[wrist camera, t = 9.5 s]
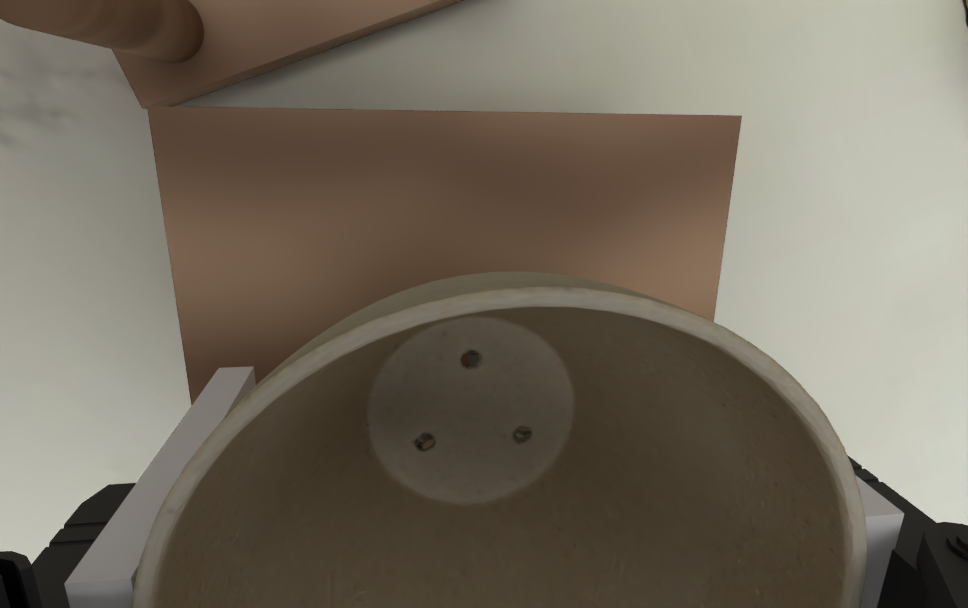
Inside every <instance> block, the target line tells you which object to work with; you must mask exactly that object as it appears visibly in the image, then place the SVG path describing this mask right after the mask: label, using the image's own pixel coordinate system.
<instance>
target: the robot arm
mask: <svg viewBox="0 0 968 608" xmlns="http://www.w3.org/2000/svg"><path fill="white" fill-rule="evenodd" d="M255 386H256V381H255V373H254V366H252V367H227V368H219V369H218V370H217V371H216V373H215V374H214V376H213V377H212V378H211V380H210V381H209V382H208V384H207V385H206V387H205V388H204V389H203V391H202V392H201V394H200V395H199V396H198V398H197V399H196V401H195V402H194V403H193V405H192V406H191V408H190V409H189V410H188V412H187V413H186V415H185V416H184V417H183V419H182V420H181V422H180V423H179V424H178V426H177V427H176V429H175V430H174V431H173V433H172V434H171V436H170V437H169V438H168V440H167V441H166V442H165V444H164V445H163V447H162V448H161V449H160V451H159V452H158V454H157V455H156V456H155V458H154V459H153V461H152V462H151V463H150V465H149V466H148V468H147V469H146V470H145V472H144V473H143V475H142V476H141V477H140V479H139V480H138V482H137V483H128V484H113V485H108V486H106V487H105V488H103V489H102V490H101V491H99V492H98V493H96V494H95V495H93V496H92V497H90V498H89V499H87V500H86V501H85V502H83V503H82V504H81V505H80V506H79V507H78V509H77V510H76V511H75V512H74V513H73V515H72V516H71V517H70V518H69V519H68V521H67V522H66V523H65V524H64V529H60V530H59V532H58V533H57V534H56V535H55V537H54V538H53V539H52V540H51V541H50V545H49V547H46V548H45V549H44V550H43V551H42V552H41V554H40V555H39V556H38V557H37V558H36V560H35V561H34V562H33V563H32V565H31V563H30V562H29V560H28V558H27V556H25V555H22V554H19V553H16V552H13V551H6V552H0V608H131V605H132V597H133V592H134V586H135V581H136V577H137V573H138V567H139V562H140V558H141V555H142V553H143V550H144V547H145V545H146V542H147V539H148V536H149V533H150V530H151V528H152V525H153V523H154V521H155V518H156V516H157V514H158V512H159V510H160V508H161V506H162V504H163V502H164V500H165V498H166V497H167V495H168V493H169V491H170V490H171V488H172V486H173V485H174V483H175V481H176V480H177V478H178V477H179V475H180V473H181V472H182V470H183V469H184V467H185V466H186V464H187V463H188V462H189V460H190V459H191V458H192V456H193V455H194V453H195V452H196V451H197V449H198V448H199V447H200V446H201V445H202V444H203V442H204V441H205V440H206V439H207V438H208V437H209V435H210V434H211V433H212V432H213V431H214V430H215V428H216V427H217V426H218V425H219V424H220V422H221V421H222V420H223V419H224V418H225V417H226V416H227V415H228V414H229V413H230V412H231V411H232V410H233V409H234V407H235V406H236V405H237V404H238V403H239V402H240V401H241V400H242V399H243V398H244V397H245V396H246V395H247V394H248V393H249V392H250V391H251V390H252V389H253V388H254V387H255ZM847 456H848V455H847ZM848 458H849V460H850V462H851V465H852V467H853V470H854V473H855V475H856V479H857V483H858V486H859V490H860V493H861V499H862V504H863V509H864V513H865V521H866V536H867V562H866V578H865V585H864V590H863V595H862V603H861V606H860V608H968V526H967V525H964V524H957V523H949V522H941V523H936V522H935V521H933V520H932V519H931V518H930V517H928V516H927V515H926V514H924V513H923V512H922V511H920V510H919V509H918V508H916V507H915V506H914V505H912V504H911V503H910V502H908V501H907V500H906V499H904V498H903V497H902V496H900V495H899V494H898V493H896V492H895V491H894V490H893V489H891V488H890V487H889V486H887V485H886V484H885V483H883V482H879V481H878V478H877V477H875V476H874V475H873V474H871V473H870V472H869V471H867V470H866V469H862V466H861V465H859V464H858V463H857V462H855V461H854V460H853V459H852V458H850V457H849V456H848Z"/></svg>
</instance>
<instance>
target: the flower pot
mask: <svg viewBox="0 0 968 608" xmlns="http://www.w3.org/2000/svg"><path fill="white" fill-rule="evenodd" d="M465 353H466V354H468V355H469V358H470V362H469V364H468V365H467V366H465V365H464V364H463V362H462V356H463V354H465ZM519 427H526V428H527V429H528V431H521V430H519ZM429 440H433V441H434V443H433V444H432V445H431V446H430V447H428V448H426V449H423V445H424V444H425V442H427V441H429ZM866 562H867V536H866V521H865V513H864V509H863V504H862V499H861V493H860V490H859V486H858V483H857V479H856V475H855V473H854V470H853V467H852V465H851V462H850V460H849V458H848V456H847V454H846V452H845V449H844V447H843V445H842V443H841V441H840V439H839V437H838V435H837V434H836V432H835V430H834V429H833V427H832V425H831V424H830V422H829V420H828V418H827V417H826V415H825V414H824V412H823V411H822V410H821V408H820V407H819V405H818V404H817V403H816V402H815V401H814V399H813V398H812V397H811V396H810V395H809V394H808V393H807V392H806V391H805V389H804V388H803V387H802V386H801V385H800V384H799V383H798V382H797V381H796V379H795V378H794V377H793V376H792V375H791V374H789V373H788V372H787V371H786V370H785V369H784V368H783V367H782V366H780V365H779V364H778V363H777V362H776V361H775V360H774V359H772V358H771V357H770V356H768V355H767V354H765V353H764V352H762V351H761V350H760V349H758V348H757V347H755V346H754V345H752V344H751V343H750V342H748V341H746V340H745V339H743V338H742V337H740V336H738V335H737V334H735V333H734V332H732V331H730V330H728V329H727V328H725V327H723V326H721V325H718V324H716V323H714V322H712V321H710V320H708V319H706V318H703V317H701V316H699V315H697V314H695V313H693V312H690V311H688V310H685V309H683V308H680V307H678V306H676V305H673V304H671V303H668V302H665V301H663V300H660V299H657V298H654V297H651V296H648V295H645V294H642V293H639V292H637V291H633V290H630V289H626V288H623V287H619V286H616V285H612V284H608V283H604V282H599V281H594V280H589V279H584V278H578V277H573V276H567V275H559V274H550V273H542V272H525V271H516V272H486V273H477V274H468V275H461V276H455V277H450V278H446V279H441V280H437V281H432V282H429V283H426V284H422V285H419V286H416V287H413V288H410V289H407V290H404V291H401V292H399V293H396V294H393V295H391V296H389V297H386V298H384V299H382V300H379V301H377V302H375V303H373V304H371V305H369V306H367V307H365V308H363V309H361V310H359V311H357V312H355V313H353V314H352V315H350V316H348V317H346V318H345V319H343V320H341V321H340V322H338V323H337V324H335V325H334V326H332V327H330V328H329V329H327V330H326V331H324V332H323V333H321V334H320V335H318V336H316V337H315V338H314V339H312V340H311V341H310V342H308V343H307V344H306V345H304V346H303V347H301V348H300V349H299V350H297V351H296V352H295V353H294V354H292V355H291V356H290V357H288V358H287V359H286V360H285V361H283V362H282V363H281V364H280V365H279V366H278V367H276V368H275V369H274V370H273V371H272V372H271V373H269V374H268V375H267V376H266V377H265V378H264V379H263V380H261V381H260V382H259V383H258V384H257V385H256V386H255V387H254V388H253V389H252V390H251V391H250V392H249V393H248V394H247V395H246V396H245V397H244V398H243V399H242V400H241V401H240V402H239V403H238V404H237V405H236V406H235V407H234V409H233V410H232V411H231V412H230V413H229V414H228V415H227V416H226V417H225V418H224V419H223V420H222V421H221V422H220V424H219V425H218V426H217V427H216V428H215V430H214V431H213V432H212V433H211V434H210V435H209V437H208V438H207V439H206V440H205V441H204V442H203V444H202V445H201V446H200V447H199V448H198V449H197V451H196V452H195V453H194V455H193V456H192V458H191V459H190V460H189V462H188V463H187V464H186V466H185V467H184V469H183V470H182V472H181V473H180V475H179V477H178V478H177V480H176V481H175V483H174V485H173V486H172V488H171V490H170V491H169V493H168V495H167V497H166V498H165V500H164V502H163V504H162V506H161V508H160V510H159V512H158V514H157V516H156V518H155V521H154V523H153V525H152V528H151V530H150V533H149V536H148V539H147V542H146V545H145V547H144V550H143V553H142V555H141V558H140V562H139V567H138V573H137V577H136V581H135V586H134V592H133V597H132V605H131V608H860V606H861V603H862V595H863V590H864V585H865V578H866Z"/></svg>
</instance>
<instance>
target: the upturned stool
mask: <svg viewBox="0 0 968 608" xmlns="http://www.w3.org/2000/svg"><path fill="white" fill-rule="evenodd" d="M461 1H463V0H0V19H2V20H4V21H6V22H8V23H10V24H13V25H16V26H19V27H23V28H27V29H31V30H36V31H40V32H44V33H48V34H52V35H56V36H60V37H65V38H69V39H73V40H77V41H81V42H85V43H89V44H94V45H98V46H102V47H106V48H110V49H112V51H113V53H114V54H115V56H116V58H117V60H118V62H119V64H120V66H121V68H122V70H123V72H124V74H125V76H126V78H127V80H128V82H129V83H130V85H131V87H132V89H133V91H134V93H135V95H136V97H137V99H138V101H139V103H140V105H141V107H142V108H147V106H166V107H172V106H174V105H177V104H180V103H183V102H185V101H188V100H191V99H194V98H196V97H199V96H202V95H205V94H207V93H210V92H213V91H216V90H218V89H221V88H224V87H227V86H229V85H232V84H235V83H238V82H240V81H243V80H246V79H249V78H251V77H254V76H257V75H260V74H262V73H265V72H268V71H271V70H273V69H276V68H279V67H282V66H284V65H287V64H290V63H293V62H295V61H298V60H301V59H304V58H306V57H309V56H312V55H315V54H317V53H320V52H323V51H326V50H328V49H331V48H334V47H337V46H339V45H342V44H345V43H348V42H350V41H353V40H356V39H359V38H361V37H364V36H367V35H370V34H373V33H375V32H378V31H381V30H384V29H386V28H389V27H392V26H395V25H397V24H400V23H403V22H406V21H408V20H411V19H414V18H417V17H419V16H422V15H425V14H428V13H430V12H433V11H436V10H439V9H441V8H444V7H447V6H450V5H452V4H455V3H458V2H461Z"/></svg>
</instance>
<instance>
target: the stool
mask: <svg viewBox="0 0 968 608" xmlns="http://www.w3.org/2000/svg"><path fill="white" fill-rule="evenodd" d="M147 109H148V115H149V122H150V129H151V135H152V142H153V149H154V156H155V162H156V169H157V176H158V183H159V189H160V196H161V203H162V210H163V216H164V223H165V230H166V236H167V243H168V250H169V257H170V263H171V270H172V277H173V284H174V290H175V297H176V304H177V311H178V317H179V324H180V331H181V337H182V344H183V351H184V358H185V364H186V371H187V378H188V385H189V391H190V398H191V405H193V403H194V402H195V401H196V399H197V398H198V396H199V395H200V394H201V392H202V391H203V389H204V388H205V387H206V385H207V384H208V382H209V381H210V380H211V378H212V377H213V376H214V374H215V373H216V371H217V370H218V369H219V368H227V367H252V366H254V373H255V381H256V385H257V384H258V383H259V382H260V381H261V380H263V379H264V378H265V377H266V376H267V375H268V374H269V373H271V372H272V371H273V370H274V369H275V368H276V367H278V366H279V365H280V364H281V363H282V362H283V361H285V360H286V359H287V358H288V357H290V356H291V355H292V354H294V353H295V352H296V351H297V350H299V349H300V348H301V347H303V346H304V345H306V344H307V343H308V342H310V341H311V340H312V339H314V338H315V337H316V336H318V335H320V334H321V333H323V332H324V331H326V330H327V329H329V328H330V327H332V326H334V325H335V324H337V323H338V322H340V321H341V320H343V319H345V318H346V317H348V316H350V315H352V314H353V313H355V312H357V311H359V310H361V309H363V308H365V307H367V306H369V305H371V304H373V303H375V302H377V301H379V300H382V299H384V298H386V297H389V296H391V295H393V294H396V293H399V292H401V291H404V290H407V289H410V288H413V287H416V286H419V285H422V284H426V283H429V282H432V281H437V280H441V279H446V278H450V277H455V276H461V275H468V274H477V273H486V272H516V271H525V272H542V273H550V274H559V275H567V276H573V277H578V278H584V279H589V280H594V281H599V282H604V283H608V284H612V285H616V286H619V287H623V288H626V289H630V290H633V291H637V292H639V293H642V294H645V295H648V296H651V297H654V298H657V299H660V300H663V301H665V302H668V303H671V304H673V305H676V306H678V307H680V308H683V309H685V310H688V311H690V312H693V313H695V314H697V315H699V316H701V317H703V318H706V319H708V320H710V321H712V322H713V321H714V314H715V307H716V300H717V292H718V285H719V278H720V270H721V263H722V256H723V248H724V241H725V234H726V227H727V219H728V212H729V205H730V197H731V190H732V183H733V176H734V168H735V161H736V154H737V146H738V139H739V132H740V125H741V117H742V116H725V115H663V114H601V113H539V112H477V111H415V110H353V109H291V108H228V107H166V106H147ZM462 362H463V364H464V365H465V366H467V365H468V364H469V362H470V358H469V355H468V354H466V353H465V354H463V356H462ZM519 430H521V431H528V429H527V428H526V427H519ZM433 443H434V441H433V440H429V441H427V442H425V444H424V445H423V449H426V448H428V447H430V446H431V445H432V444H433Z"/></svg>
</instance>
